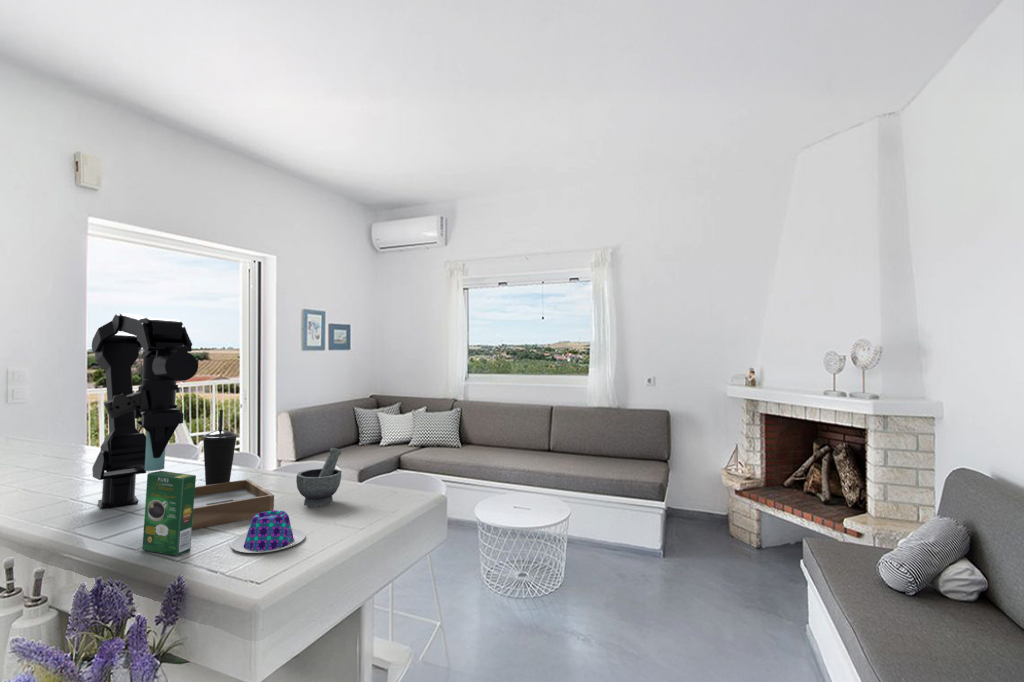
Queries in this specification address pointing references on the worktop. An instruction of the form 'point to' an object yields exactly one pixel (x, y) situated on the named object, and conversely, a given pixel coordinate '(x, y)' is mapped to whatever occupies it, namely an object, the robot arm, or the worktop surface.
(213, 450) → the drinking cup
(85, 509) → the worktop surface
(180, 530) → the coffee box
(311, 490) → the mortar and pestle
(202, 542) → the worktop surface
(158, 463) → the peg
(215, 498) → the insert box
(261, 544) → the patterned hat
